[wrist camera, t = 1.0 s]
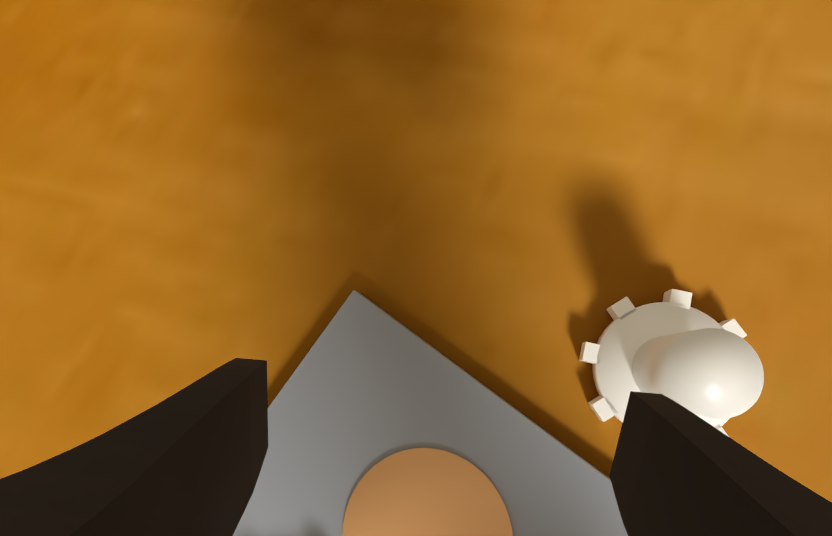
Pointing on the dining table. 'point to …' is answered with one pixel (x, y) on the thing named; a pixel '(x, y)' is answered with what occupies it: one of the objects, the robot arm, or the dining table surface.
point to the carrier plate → (412, 448)
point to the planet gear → (673, 360)
